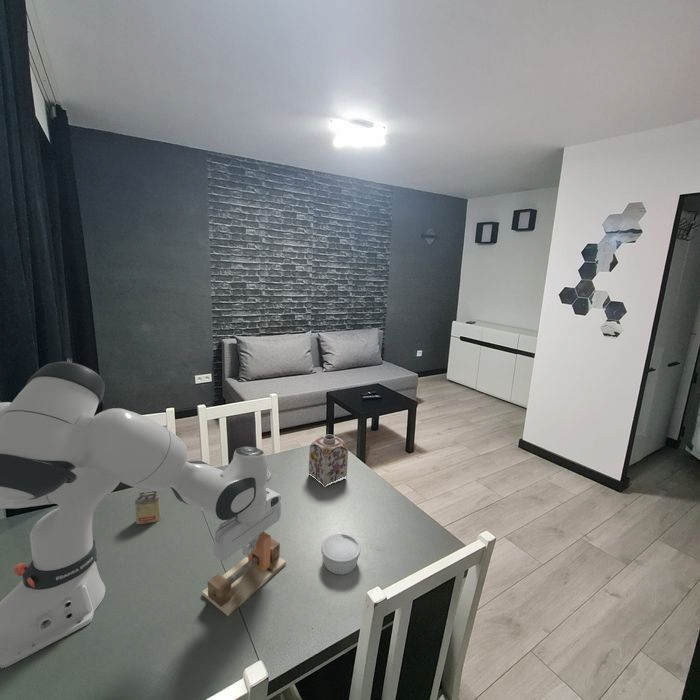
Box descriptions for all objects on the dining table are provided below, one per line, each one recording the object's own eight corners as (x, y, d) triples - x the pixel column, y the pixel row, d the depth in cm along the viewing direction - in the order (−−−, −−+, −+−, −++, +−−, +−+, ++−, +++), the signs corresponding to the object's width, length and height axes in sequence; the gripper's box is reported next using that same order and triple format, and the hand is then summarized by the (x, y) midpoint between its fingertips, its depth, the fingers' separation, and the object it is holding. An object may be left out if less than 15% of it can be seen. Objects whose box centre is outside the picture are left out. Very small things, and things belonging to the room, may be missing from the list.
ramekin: (366, 558, 107) (367, 543, 106) (346, 584, 97) (347, 568, 96) (334, 543, 112) (335, 528, 111) (313, 566, 103) (313, 550, 102)
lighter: (134, 525, 114) (133, 497, 112) (137, 517, 118) (135, 490, 116) (160, 521, 117) (158, 494, 115) (161, 514, 120) (160, 487, 118)
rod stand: (227, 616, 86) (227, 596, 85) (202, 594, 92) (201, 576, 91) (285, 564, 103) (286, 547, 102) (261, 548, 108) (261, 532, 107)
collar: (263, 571, 98) (263, 541, 96) (248, 561, 101) (248, 531, 99) (270, 566, 100) (270, 535, 98) (255, 556, 103) (255, 526, 101)
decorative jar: (330, 467, 157) (332, 428, 153) (347, 479, 148) (350, 438, 145) (307, 475, 149) (309, 434, 146) (323, 488, 141) (325, 446, 137)
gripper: (224, 533, 83) (224, 584, 86) (285, 492, 100) (283, 536, 103) (206, 522, 87) (207, 571, 90) (268, 484, 104) (268, 527, 106)
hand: (249, 552), depth 96 cm, fingers closed
